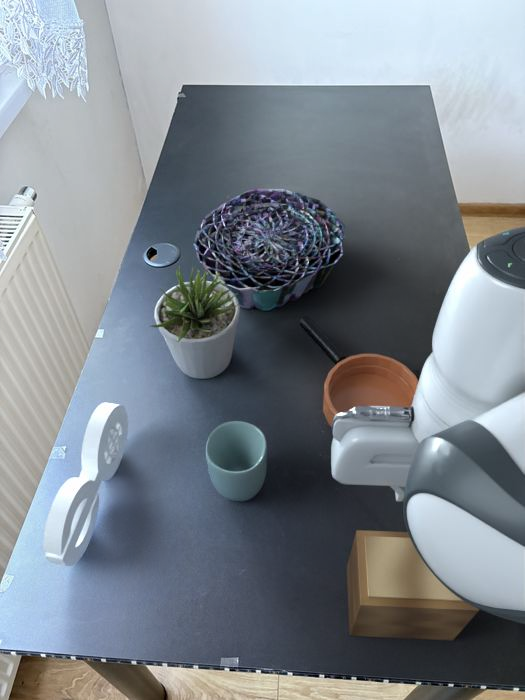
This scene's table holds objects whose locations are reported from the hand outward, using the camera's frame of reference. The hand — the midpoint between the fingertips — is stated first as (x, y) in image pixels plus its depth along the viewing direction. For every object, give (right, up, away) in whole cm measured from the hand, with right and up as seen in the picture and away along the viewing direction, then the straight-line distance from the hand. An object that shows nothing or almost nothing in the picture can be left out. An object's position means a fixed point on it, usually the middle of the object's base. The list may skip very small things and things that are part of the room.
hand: (434, 495), depth 56 cm
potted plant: (-26, +12, +41) cm, 50 cm away
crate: (0, -17, +17) cm, 24 cm away
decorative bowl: (-15, +28, +55) cm, 63 cm away
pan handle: (-7, +15, +40) cm, 43 cm away
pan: (0, +5, +35) cm, 35 cm away
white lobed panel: (-39, -7, +26) cm, 47 cm away
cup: (-19, -5, +27) cm, 34 cm away
